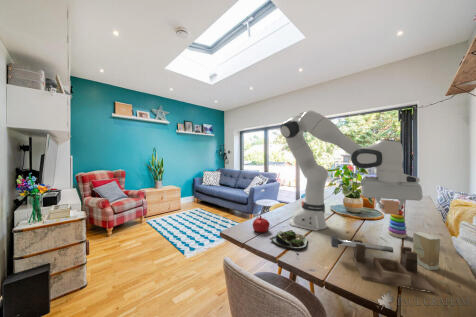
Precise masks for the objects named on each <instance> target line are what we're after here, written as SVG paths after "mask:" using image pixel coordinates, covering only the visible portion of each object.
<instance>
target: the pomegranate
mask: <svg viewBox="0 0 476 317" xmlns="http://www.w3.org/2000/svg"><path fill="white" fill-rule="evenodd" d="M270 225H271V224H270V222H269V221H268V219H266V217H265V216H264V217H262V215H261V214H260V215H259V216H256V217H255V219H254V220H253V222H252V229H253V230H254V231H255V232H257V233H262V234H264V233H266V232H268V230H269V229H270ZM263 232H264V233H263Z"/></svg>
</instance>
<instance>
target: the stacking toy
mask: <svg viewBox="0 0 476 317" xmlns="http://www.w3.org/2000/svg"><path fill="white" fill-rule="evenodd" d="M395 201H396V202H398V203H399V202H400V201H398V200H395ZM404 207H405V206H404V204H403V205H402V206H401V210H399V215H394V214H390V217H389V224H388V227H387V229H388V230H387V233H388V234H389V235H390V236H392V237H395V238H400V239H406V238H407V237H408V233H407V226H406V222H405V216H404V211H403V209H404Z"/></svg>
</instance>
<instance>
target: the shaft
mask: <svg viewBox="0 0 476 317" xmlns="http://www.w3.org/2000/svg"><path fill="white" fill-rule="evenodd" d="M356 244H362V245H365V250H371V251H380V252H385V253H391V254H392V253H393V254H394V248H393V247H392V246H386V245H380V244H379V245H377V244H374V243H373V244H371V243H365V242H363V243H360V242H354V240H344V239H339V238H338V236H337V235H334V234H333V235H332V234H330V245H331V247H332V248H339V245H340V246H341V245H342V246H346V247H353V248H354V247H356Z"/></svg>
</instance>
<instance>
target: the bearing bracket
mask: <svg viewBox="0 0 476 317" xmlns="http://www.w3.org/2000/svg"><path fill="white" fill-rule="evenodd" d="M353 242H360V243H364V242H363V241H362V240H360V239H353ZM351 257H352V259H353V263H354V265H355V267H356V269H357V271H358V273H359V276H360V278H361V279H363V280H367V281H372V282H377V283H383V284H386V285H391V284H392V285H391V286H395V285H398V286H397V287H401V286H405V287H409V288H408V289H410V288H413V289H412V290H415V289H418V290H417V291H419V290H425V291H430V292H434V293H436V294H437V290H436V289H435V288H434V287H433V285H431V284H430V283H429V282H428V281H427V279H425V278H424V276H422V274H421V273H420V272H419V271H418V263H417V253H416V252H413V248H411V247H409V246H404V245H403V246H402V245H400V262H399V261H398V260H394V259H389V258H384V257H377V256H373V257H372V258H371V257H366V249H365V245H362V244H356V247H353V254H352V256H351ZM405 287H404V288H405ZM401 288H402V287H401ZM434 293H433V294H434Z"/></svg>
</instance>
